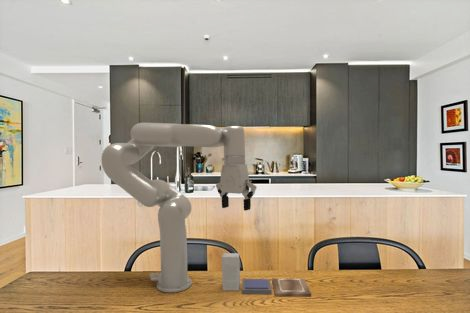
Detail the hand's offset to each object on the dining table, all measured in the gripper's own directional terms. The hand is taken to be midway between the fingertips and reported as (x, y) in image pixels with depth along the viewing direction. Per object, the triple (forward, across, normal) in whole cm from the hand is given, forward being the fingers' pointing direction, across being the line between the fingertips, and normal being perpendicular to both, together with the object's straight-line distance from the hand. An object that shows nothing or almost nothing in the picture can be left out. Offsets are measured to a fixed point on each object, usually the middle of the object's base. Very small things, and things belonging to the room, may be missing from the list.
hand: (235, 208), depth 111 cm
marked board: (+28, +16, +10) cm, 34 cm away
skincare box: (+28, -2, -2) cm, 29 cm away
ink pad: (+28, +6, +3) cm, 29 cm away
